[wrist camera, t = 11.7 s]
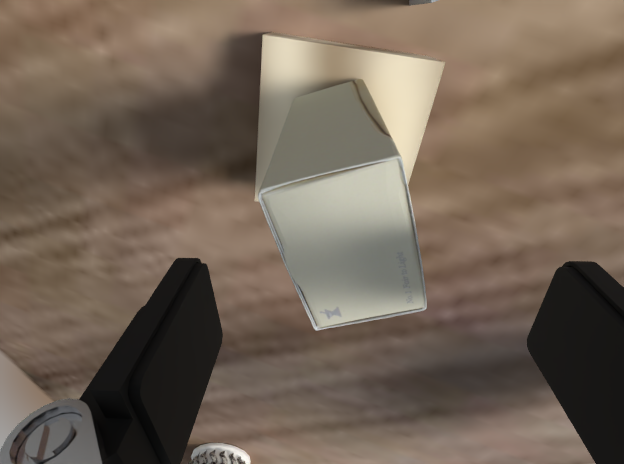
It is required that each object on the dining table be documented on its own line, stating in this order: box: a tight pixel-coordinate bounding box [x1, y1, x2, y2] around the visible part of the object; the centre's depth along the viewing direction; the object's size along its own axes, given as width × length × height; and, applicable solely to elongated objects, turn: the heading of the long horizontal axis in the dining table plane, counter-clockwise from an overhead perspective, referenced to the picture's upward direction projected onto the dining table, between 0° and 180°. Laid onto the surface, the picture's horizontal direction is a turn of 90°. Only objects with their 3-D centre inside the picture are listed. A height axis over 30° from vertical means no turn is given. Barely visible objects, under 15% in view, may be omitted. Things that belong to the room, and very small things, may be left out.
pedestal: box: [255, 32, 445, 201], centre depth 23 cm, size 10×10×4 cm
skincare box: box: [258, 79, 427, 330], centre depth 16 cm, size 6×4×12 cm
